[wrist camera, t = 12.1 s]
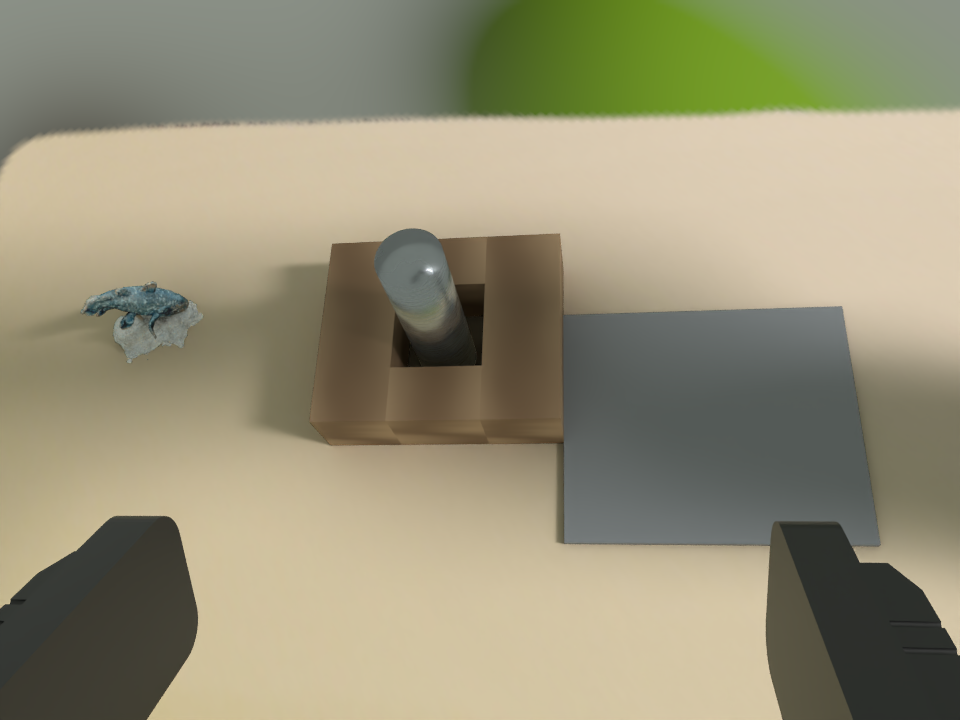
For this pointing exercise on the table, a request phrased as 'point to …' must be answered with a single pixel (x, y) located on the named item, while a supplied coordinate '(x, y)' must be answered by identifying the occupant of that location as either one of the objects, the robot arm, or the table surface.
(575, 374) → the mat
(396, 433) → the hole block
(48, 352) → the table surface
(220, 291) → the table surface
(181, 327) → the sculpture
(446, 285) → the peg
